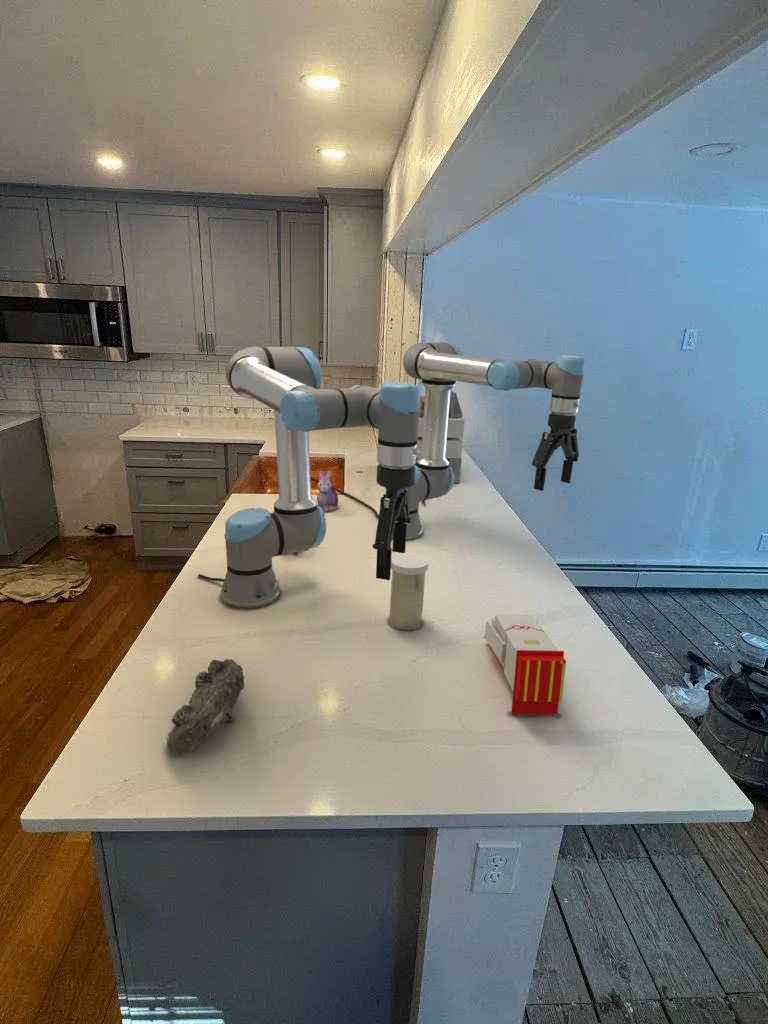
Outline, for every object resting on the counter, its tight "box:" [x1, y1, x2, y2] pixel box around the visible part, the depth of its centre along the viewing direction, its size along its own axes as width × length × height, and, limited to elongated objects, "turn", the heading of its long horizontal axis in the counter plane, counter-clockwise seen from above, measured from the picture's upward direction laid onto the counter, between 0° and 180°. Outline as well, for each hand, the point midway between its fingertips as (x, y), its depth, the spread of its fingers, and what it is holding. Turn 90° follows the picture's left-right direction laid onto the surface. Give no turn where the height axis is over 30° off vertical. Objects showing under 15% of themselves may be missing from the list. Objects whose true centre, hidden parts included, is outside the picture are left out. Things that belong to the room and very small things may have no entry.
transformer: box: [413, 390, 465, 484], centre depth 268 cm, size 34×33×41 cm
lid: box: [391, 551, 430, 575], centre depth 138 cm, size 9×9×2 cm
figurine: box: [316, 469, 339, 513], centre depth 219 cm, size 9×10×15 cm
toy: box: [484, 614, 567, 716], centre depth 124 cm, size 12×13×30 cm
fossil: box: [166, 658, 245, 754], centre depth 106 cm, size 22×10×15 cm
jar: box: [388, 569, 426, 631], centre depth 141 cm, size 8×8×17 cm
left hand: (391, 564), depth 117 cm, fingers open, 13 cm apart
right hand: (552, 485), depth 166 cm, fingers open, 13 cm apart
